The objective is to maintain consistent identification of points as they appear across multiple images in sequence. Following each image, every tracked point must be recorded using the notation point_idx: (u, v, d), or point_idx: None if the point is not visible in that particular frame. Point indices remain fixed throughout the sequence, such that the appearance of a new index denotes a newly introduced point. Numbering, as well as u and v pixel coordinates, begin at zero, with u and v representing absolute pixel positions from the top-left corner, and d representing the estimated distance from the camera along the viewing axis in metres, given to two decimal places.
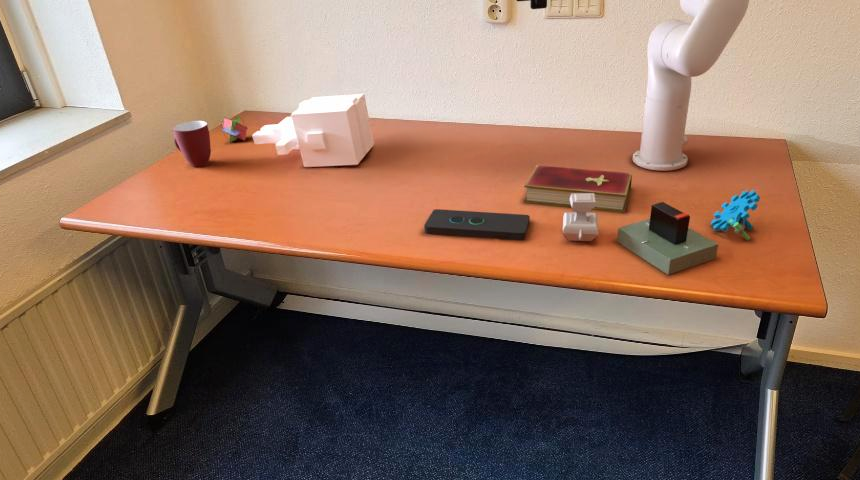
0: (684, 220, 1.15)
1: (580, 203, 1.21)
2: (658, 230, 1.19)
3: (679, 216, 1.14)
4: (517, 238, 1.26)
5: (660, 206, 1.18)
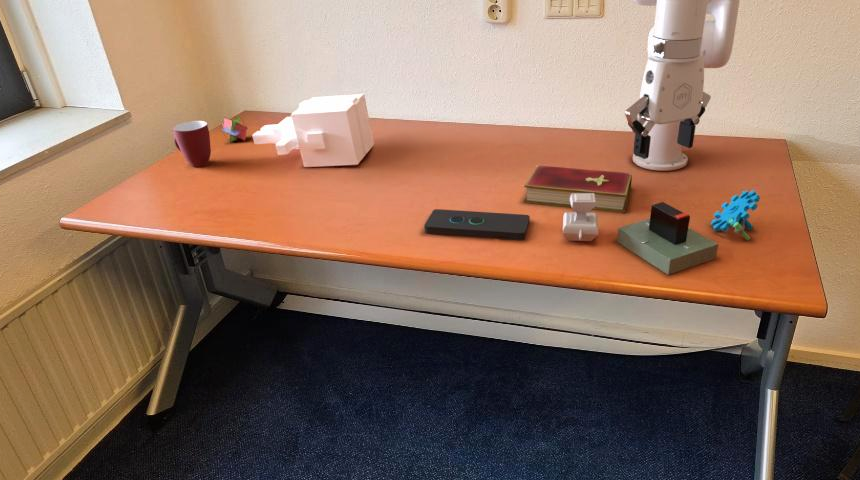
0: (684, 220, 1.15)
1: (580, 203, 1.21)
2: (658, 230, 1.19)
3: (679, 216, 1.14)
4: (517, 238, 1.26)
5: (660, 206, 1.18)
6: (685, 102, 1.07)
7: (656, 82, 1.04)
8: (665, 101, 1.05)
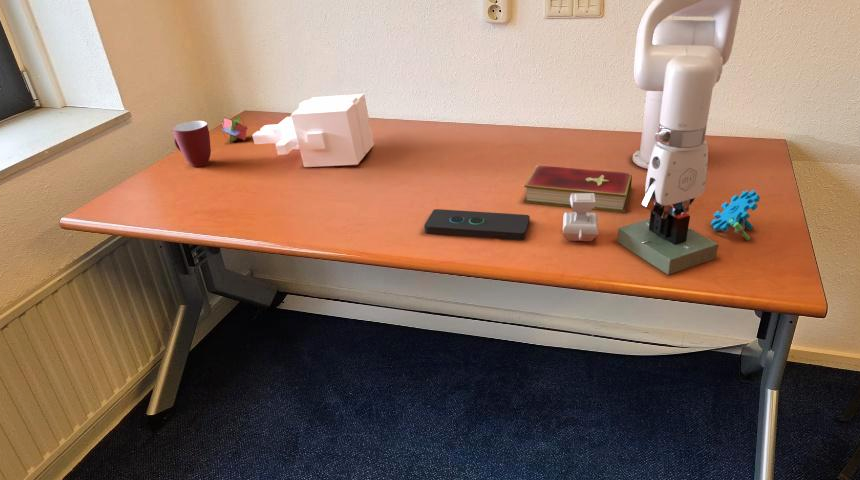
0: (684, 220, 1.15)
1: (580, 203, 1.21)
2: None
3: (679, 216, 1.14)
4: (517, 238, 1.26)
5: (660, 206, 1.18)
6: (690, 184, 1.12)
7: (662, 168, 1.09)
8: (671, 185, 1.10)
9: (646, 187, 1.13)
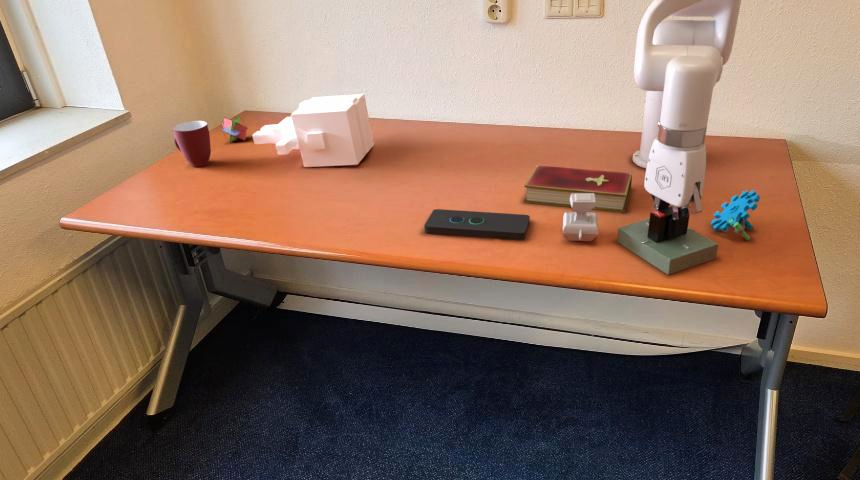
0: (655, 217, 1.16)
1: (580, 203, 1.21)
2: None
3: (654, 211, 1.16)
4: (517, 238, 1.26)
5: None
6: (666, 185, 1.12)
7: None
8: (650, 173, 1.15)
9: None
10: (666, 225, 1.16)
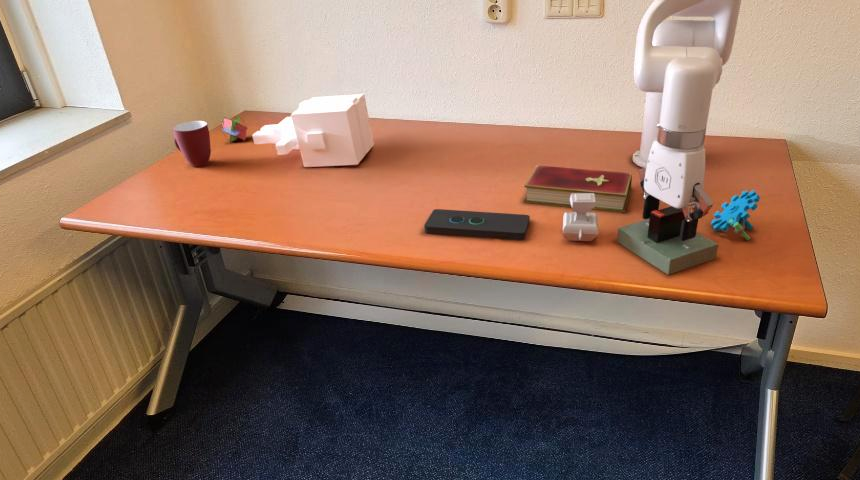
0: (655, 217, 1.16)
1: (580, 203, 1.21)
2: None
3: (654, 211, 1.16)
4: (517, 238, 1.27)
5: None
6: (665, 187, 1.12)
7: None
8: (649, 174, 1.15)
9: None
10: (666, 225, 1.16)
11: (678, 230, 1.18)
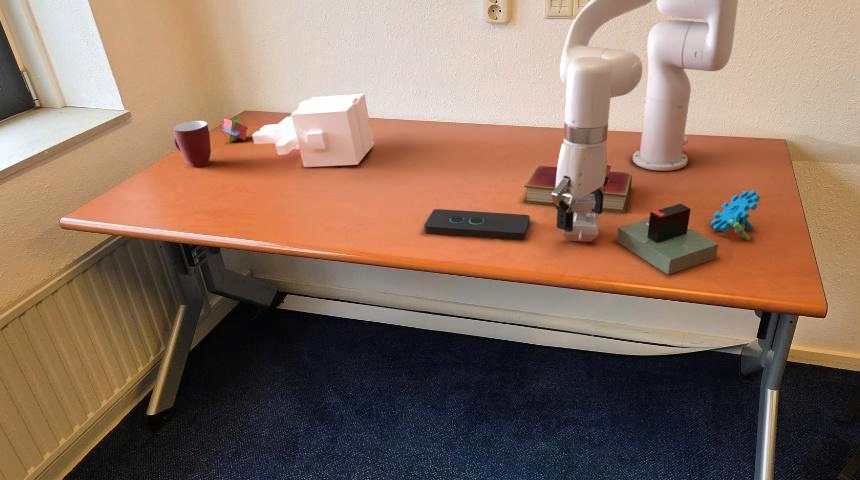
0: (655, 217, 1.16)
1: (580, 204, 1.21)
2: None
3: (654, 211, 1.16)
4: (517, 238, 1.27)
5: (677, 206, 1.18)
6: None
7: None
8: None
9: None
10: (666, 225, 1.16)
11: (678, 230, 1.18)
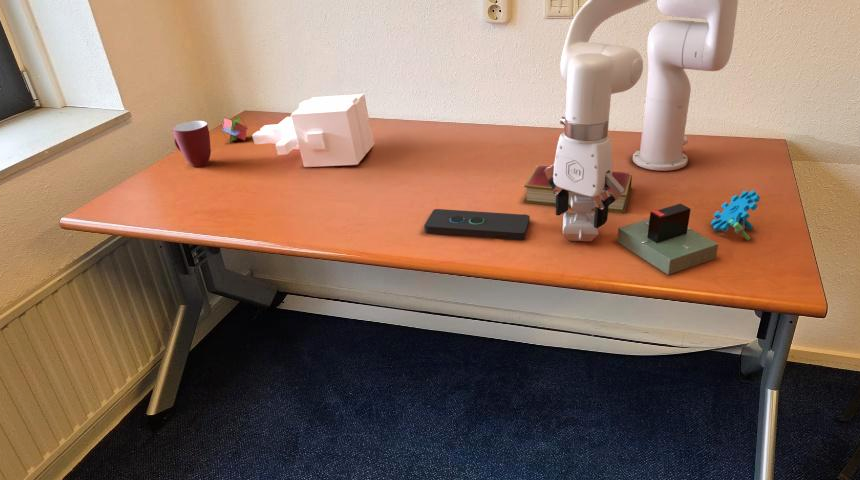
0: (655, 217, 1.16)
1: (580, 203, 1.21)
2: None
3: (654, 211, 1.16)
4: (517, 238, 1.27)
5: (677, 206, 1.18)
6: (578, 178, 1.17)
7: None
8: (559, 168, 1.20)
9: None
10: (666, 225, 1.16)
11: (678, 230, 1.18)
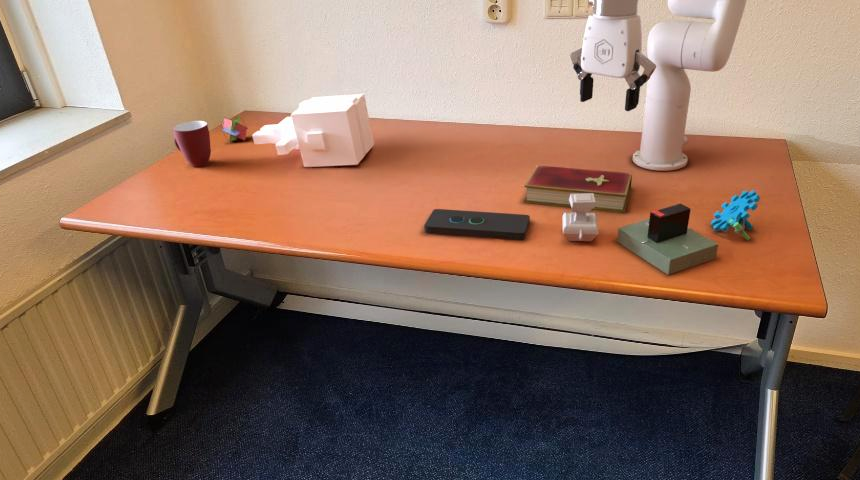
0: (655, 217, 1.16)
1: (580, 203, 1.21)
2: None
3: (654, 211, 1.16)
4: (517, 238, 1.27)
5: (677, 206, 1.18)
6: (607, 59, 1.17)
7: None
8: (587, 51, 1.19)
9: None
10: (666, 225, 1.16)
11: (678, 230, 1.18)
